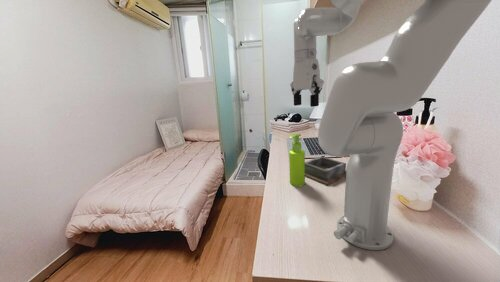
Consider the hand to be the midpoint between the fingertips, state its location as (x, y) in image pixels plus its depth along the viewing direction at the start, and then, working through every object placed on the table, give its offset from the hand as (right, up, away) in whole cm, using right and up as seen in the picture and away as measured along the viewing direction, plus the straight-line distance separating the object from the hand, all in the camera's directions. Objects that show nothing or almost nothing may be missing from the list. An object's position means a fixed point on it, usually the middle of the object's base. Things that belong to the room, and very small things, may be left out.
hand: (305, 105), depth 77 cm
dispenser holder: (+11, -27, +12) cm, 32 cm away
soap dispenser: (-2, -30, +5) cm, 31 cm away
